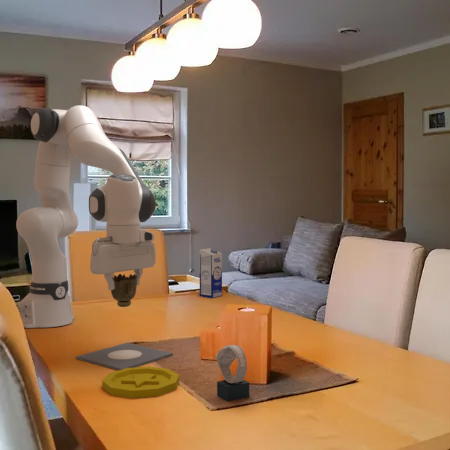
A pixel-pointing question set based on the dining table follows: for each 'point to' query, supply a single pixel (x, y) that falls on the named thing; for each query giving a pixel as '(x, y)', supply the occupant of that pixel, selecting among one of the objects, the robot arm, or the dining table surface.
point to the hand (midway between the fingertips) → (124, 287)
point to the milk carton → (210, 273)
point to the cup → (124, 289)
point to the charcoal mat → (124, 356)
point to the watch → (231, 385)
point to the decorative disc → (140, 382)
